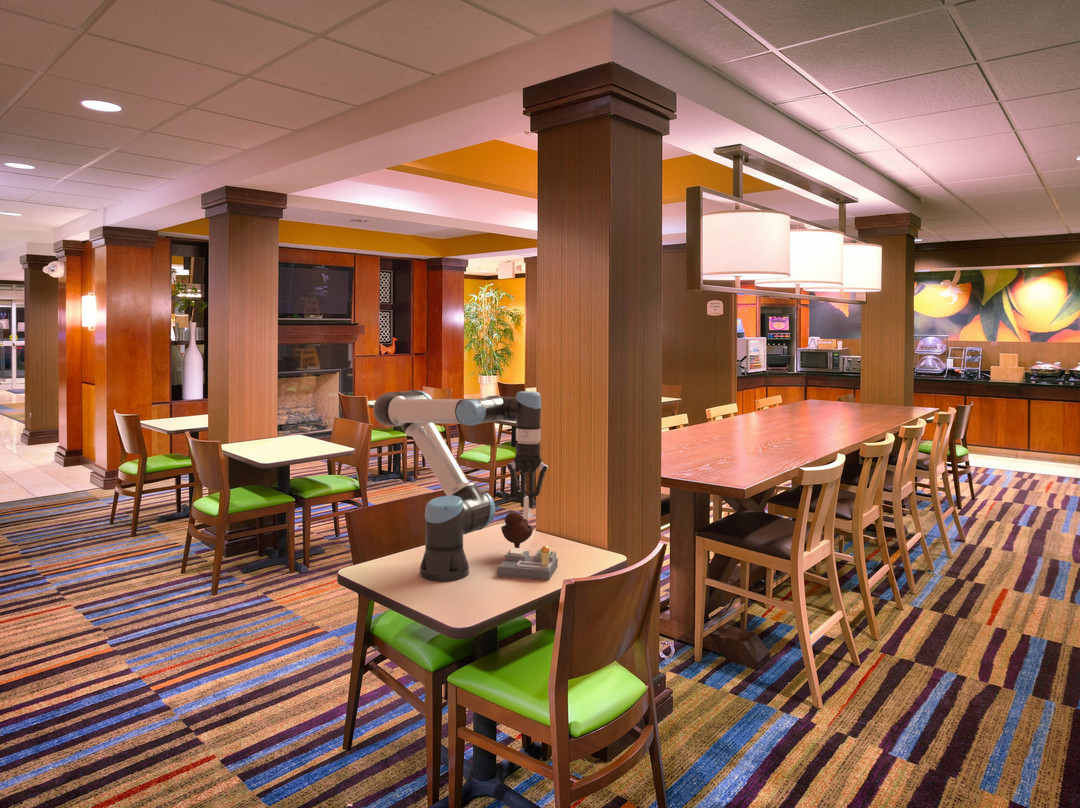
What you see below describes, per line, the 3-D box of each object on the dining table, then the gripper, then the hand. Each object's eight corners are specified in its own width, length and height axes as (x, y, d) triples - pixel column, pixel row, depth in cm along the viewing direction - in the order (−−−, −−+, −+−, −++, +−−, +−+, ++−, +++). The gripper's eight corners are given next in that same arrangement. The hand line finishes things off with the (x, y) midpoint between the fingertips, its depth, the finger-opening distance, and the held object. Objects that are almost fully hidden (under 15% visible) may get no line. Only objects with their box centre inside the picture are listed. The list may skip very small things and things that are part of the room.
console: (498, 576, 213) (498, 560, 212) (509, 563, 226) (509, 548, 225) (549, 580, 209) (549, 564, 209) (557, 567, 222) (557, 551, 222)
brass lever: (540, 566, 212) (540, 546, 211) (542, 564, 214) (542, 544, 214) (548, 567, 211) (548, 547, 211) (550, 564, 214) (550, 545, 213)
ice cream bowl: (530, 560, 229) (530, 515, 227) (497, 558, 230) (497, 514, 229) (535, 551, 239) (535, 508, 238) (504, 549, 241) (504, 507, 240)
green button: (538, 560, 218) (538, 551, 218) (540, 557, 222) (540, 548, 221) (549, 561, 217) (549, 552, 217) (551, 558, 221) (551, 548, 221)
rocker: (509, 556, 220) (509, 552, 220) (512, 551, 223) (512, 547, 223) (522, 557, 220) (521, 553, 219) (524, 552, 222) (524, 548, 222)
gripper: (504, 442, 209) (503, 519, 211) (546, 444, 206) (544, 522, 208) (510, 439, 216) (509, 513, 218) (551, 441, 213) (550, 516, 215)
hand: (526, 517), depth 213 cm, fingers closed
